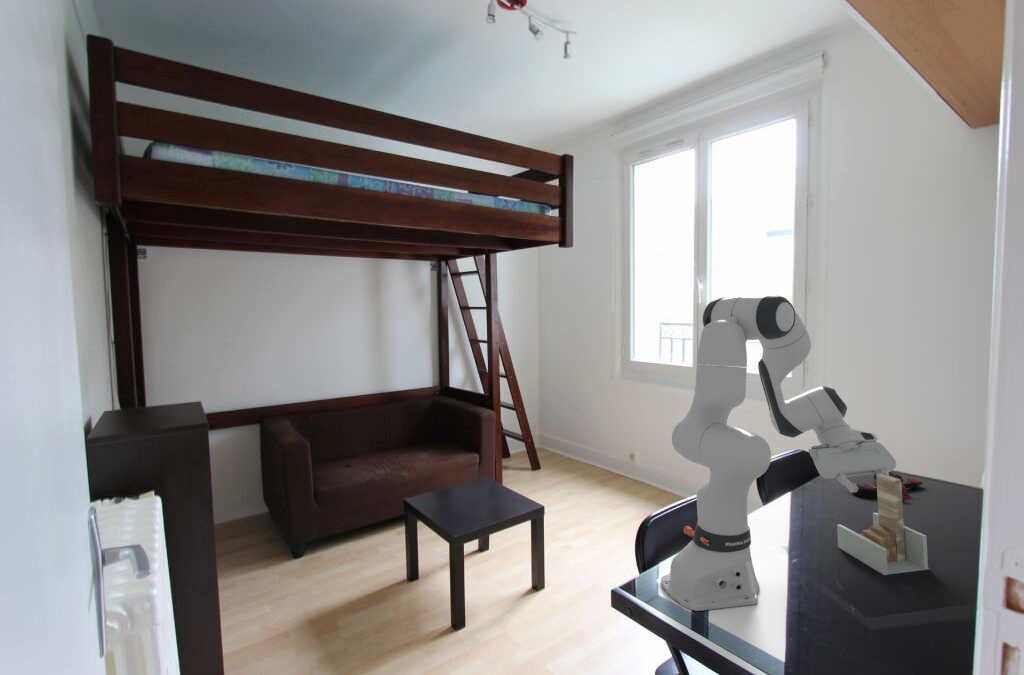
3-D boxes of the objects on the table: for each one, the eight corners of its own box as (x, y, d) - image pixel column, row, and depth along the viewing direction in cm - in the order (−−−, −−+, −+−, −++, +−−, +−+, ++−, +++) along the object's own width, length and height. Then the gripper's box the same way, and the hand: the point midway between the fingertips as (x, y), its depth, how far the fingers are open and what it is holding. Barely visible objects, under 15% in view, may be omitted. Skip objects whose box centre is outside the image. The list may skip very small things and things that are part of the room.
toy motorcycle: (847, 499, 162) (904, 505, 149) (844, 483, 163) (900, 488, 149) (881, 483, 175) (936, 487, 162) (878, 469, 176) (932, 472, 162)
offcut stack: (875, 565, 116) (873, 537, 116) (855, 553, 122) (853, 526, 122) (898, 562, 116) (896, 534, 116) (877, 551, 122) (875, 524, 122)
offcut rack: (884, 581, 112) (882, 541, 112) (838, 552, 126) (836, 517, 125) (929, 575, 113) (927, 535, 113) (879, 547, 127) (877, 512, 126)
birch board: (897, 561, 117) (893, 480, 116) (880, 551, 122) (876, 474, 121) (905, 560, 117) (901, 479, 116) (887, 550, 122) (883, 473, 121)
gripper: (811, 440, 130) (840, 488, 121) (880, 433, 132) (914, 479, 123) (800, 452, 135) (828, 499, 126) (867, 445, 137) (900, 490, 127)
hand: (871, 489), depth 124 cm, fingers open, 8 cm apart
